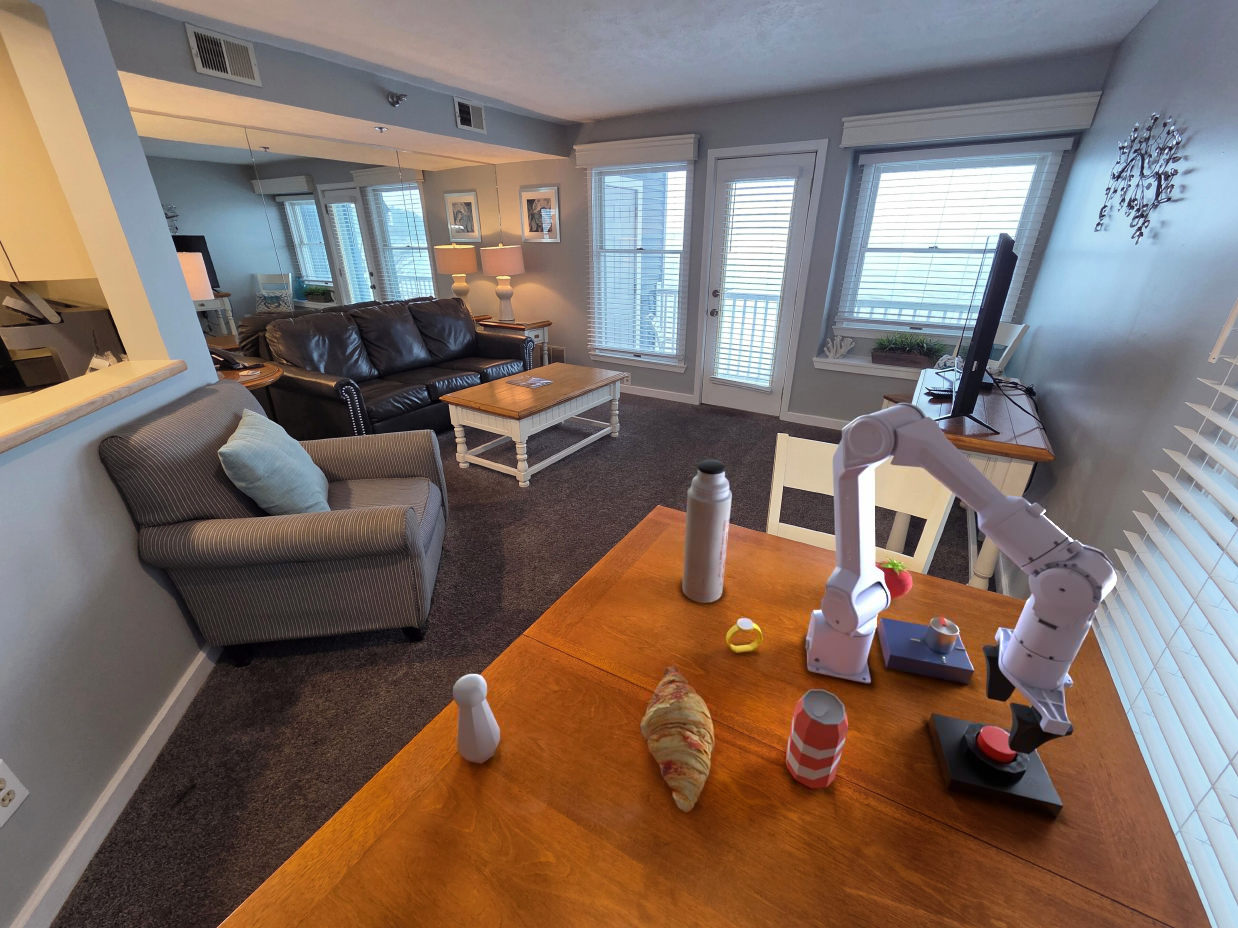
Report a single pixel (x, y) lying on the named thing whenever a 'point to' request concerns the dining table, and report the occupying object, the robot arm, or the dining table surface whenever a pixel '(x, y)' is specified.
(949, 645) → the dial knob
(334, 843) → the dining table surface
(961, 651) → the dial panel
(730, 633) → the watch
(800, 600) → the dining table surface
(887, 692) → the dining table surface
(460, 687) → the salt shaker
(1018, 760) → the button box
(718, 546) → the thermos bottle
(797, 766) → the beverage can
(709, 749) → the croissant
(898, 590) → the strawberry
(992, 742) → the button
